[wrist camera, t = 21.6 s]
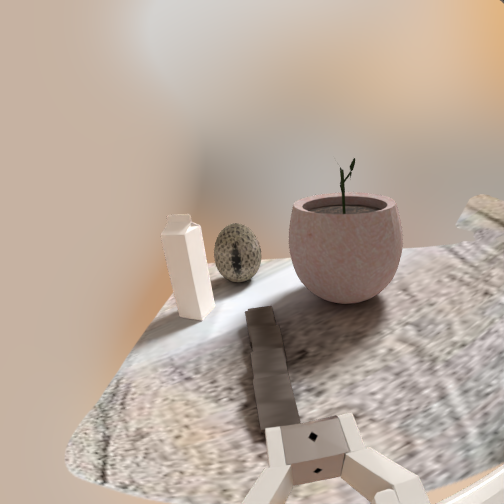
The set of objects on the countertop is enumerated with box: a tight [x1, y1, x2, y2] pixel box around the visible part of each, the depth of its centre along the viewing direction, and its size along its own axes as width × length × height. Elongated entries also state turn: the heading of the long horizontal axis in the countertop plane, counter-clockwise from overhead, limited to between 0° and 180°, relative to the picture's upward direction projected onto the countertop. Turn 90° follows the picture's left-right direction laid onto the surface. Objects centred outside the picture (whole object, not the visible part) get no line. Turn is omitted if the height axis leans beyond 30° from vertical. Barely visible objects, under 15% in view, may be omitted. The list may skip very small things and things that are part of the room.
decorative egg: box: [214, 223, 261, 282], centre depth 76 cm, size 12×12×15 cm
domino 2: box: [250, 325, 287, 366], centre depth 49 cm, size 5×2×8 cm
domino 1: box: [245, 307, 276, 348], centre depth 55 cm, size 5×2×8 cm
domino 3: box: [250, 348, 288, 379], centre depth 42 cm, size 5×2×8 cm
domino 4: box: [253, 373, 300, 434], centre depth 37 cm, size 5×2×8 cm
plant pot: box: [289, 158, 403, 304], centre depth 60 cm, size 24×24×30 cm
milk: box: [161, 214, 215, 321], centre depth 62 cm, size 6×6×22 cm
